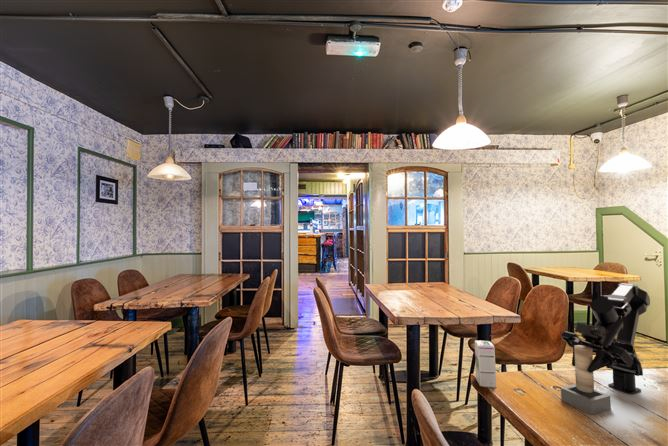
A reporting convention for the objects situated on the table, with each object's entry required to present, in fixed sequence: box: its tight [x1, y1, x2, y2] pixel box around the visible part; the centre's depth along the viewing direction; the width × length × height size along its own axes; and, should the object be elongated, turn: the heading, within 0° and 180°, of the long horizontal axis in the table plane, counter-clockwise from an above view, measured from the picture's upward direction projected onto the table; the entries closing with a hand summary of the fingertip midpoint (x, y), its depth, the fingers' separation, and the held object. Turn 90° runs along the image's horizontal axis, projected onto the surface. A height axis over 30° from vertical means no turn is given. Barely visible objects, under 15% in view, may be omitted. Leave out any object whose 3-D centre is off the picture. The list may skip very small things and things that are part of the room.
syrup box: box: [474, 339, 497, 389], centre depth 113 cm, size 6×6×14 cm
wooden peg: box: [574, 345, 595, 393], centre depth 99 cm, size 4×4×13 cm
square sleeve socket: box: [560, 383, 612, 416], centre depth 98 cm, size 9×9×4 cm
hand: (580, 368), depth 98 cm, fingers closed on wooden peg, 4 cm apart
